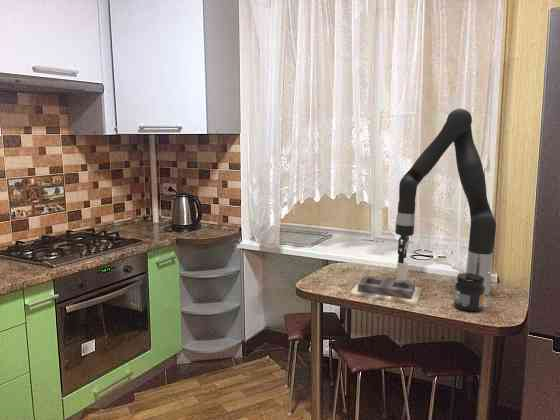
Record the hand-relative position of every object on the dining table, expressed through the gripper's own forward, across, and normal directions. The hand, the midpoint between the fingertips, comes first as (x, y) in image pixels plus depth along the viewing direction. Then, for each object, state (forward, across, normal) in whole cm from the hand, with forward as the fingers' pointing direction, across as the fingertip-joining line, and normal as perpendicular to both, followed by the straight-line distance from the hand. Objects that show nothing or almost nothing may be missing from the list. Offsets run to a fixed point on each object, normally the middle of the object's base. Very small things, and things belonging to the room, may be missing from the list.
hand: (402, 260), depth 205 cm
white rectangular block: (+10, 0, 0) cm, 10 cm away
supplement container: (+10, -17, -28) cm, 34 cm away
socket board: (+10, -14, +4) cm, 18 cm away
